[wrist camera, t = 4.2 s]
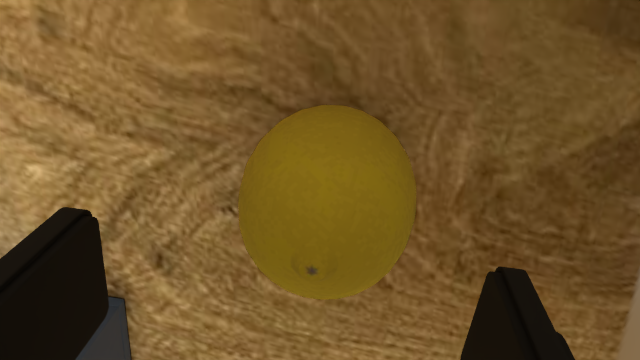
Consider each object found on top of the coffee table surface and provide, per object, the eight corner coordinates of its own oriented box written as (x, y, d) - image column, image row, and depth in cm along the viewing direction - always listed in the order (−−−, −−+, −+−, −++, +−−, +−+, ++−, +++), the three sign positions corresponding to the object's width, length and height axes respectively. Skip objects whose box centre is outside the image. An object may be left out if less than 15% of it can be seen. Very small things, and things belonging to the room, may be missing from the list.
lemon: (436, 117, 18) (473, 234, 11) (369, 228, 20) (361, 382, 13) (302, 53, 17) (245, 129, 10) (250, 174, 20) (175, 304, 13)
